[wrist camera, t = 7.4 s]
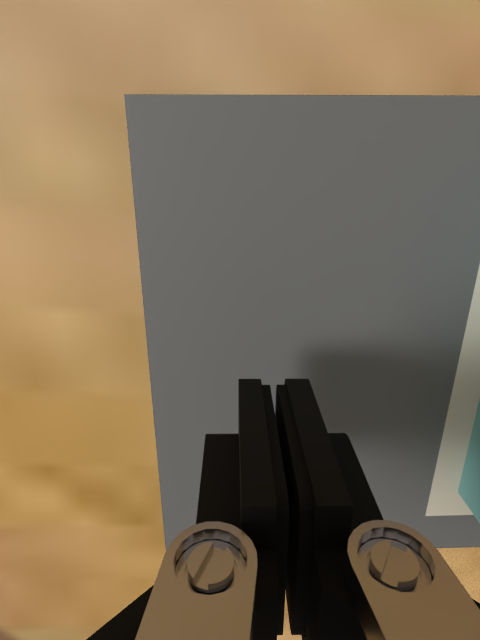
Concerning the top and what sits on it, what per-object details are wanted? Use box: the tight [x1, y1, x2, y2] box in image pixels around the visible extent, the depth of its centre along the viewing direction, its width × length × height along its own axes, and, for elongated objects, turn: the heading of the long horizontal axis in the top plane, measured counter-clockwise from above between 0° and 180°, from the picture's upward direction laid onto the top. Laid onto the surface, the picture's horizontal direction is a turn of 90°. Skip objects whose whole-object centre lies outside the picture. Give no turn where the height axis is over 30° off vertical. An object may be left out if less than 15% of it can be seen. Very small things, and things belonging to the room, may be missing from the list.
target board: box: [124, 94, 480, 551], centre depth 12 cm, size 14×18×1 cm
